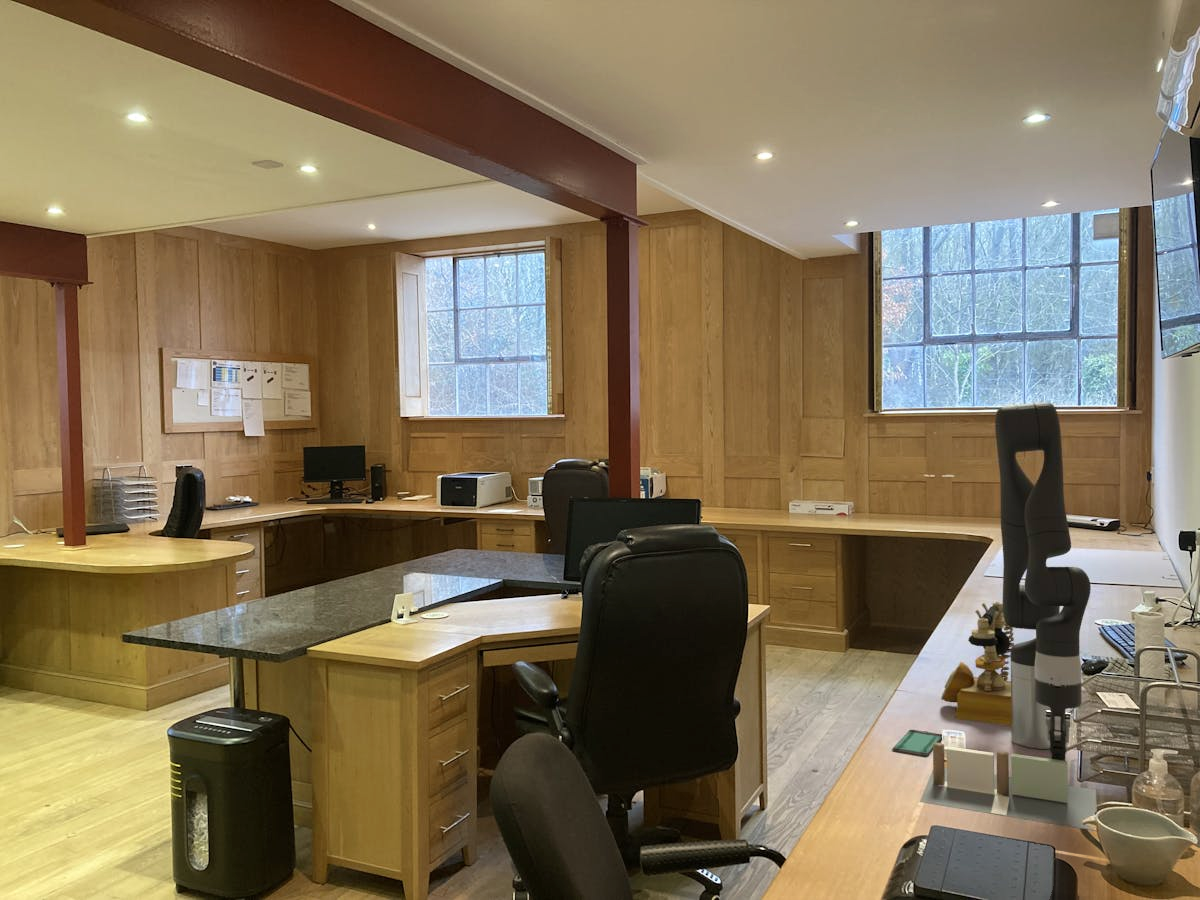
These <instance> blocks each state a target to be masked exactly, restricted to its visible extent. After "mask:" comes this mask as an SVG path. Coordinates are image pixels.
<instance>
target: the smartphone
mask: <svg viewBox="0 0 1200 900" xmlns="http://www.w3.org/2000/svg"><path fill="white" fill-rule="evenodd" d="M942 735H943V734H942V733H936V732H929V731H925V730H923V731H922V730H916V729H909V730H908V731H907V732H906V733H905V734H904V735H903V737H902V738H901V739H900V740H899V741H898V742H897V743H896V744H895V745H894V746H893V747H892V752H895V753H900V754H906V755H911V756H916V757H923V758H928V757H929V756H930V755H931V753H933V743H941V742H942V741H943V740H942ZM941 740H942V741H941Z"/></svg>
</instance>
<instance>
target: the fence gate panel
mask: <svg viewBox="0 0 1200 900" xmlns="http://www.w3.org/2000/svg"><path fill="white" fill-rule="evenodd" d="M1010 758H1011V760H1010V761H1011V763H1010V764H1011V765H1010V766H1011V770H1010V771H1011V773H1010V774H1011V776H1010V777H1011V778H1012V794H1013V795H1020V796H1026V797H1033V798H1039V799H1046V800H1052V801H1059V802H1065V803H1068V786H1069V785H1068V784H1069V783H1068V781H1069V780H1068V774H1069V773H1068V772H1069V771H1068V760H1065V761H1062V760H1055V759H1052V758H1046V757H1039V756H1032V755H1025V754H1024V755H1023V754H1016V753H1011V757H1010Z"/></svg>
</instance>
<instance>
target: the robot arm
mask: <svg viewBox="0 0 1200 900" xmlns="http://www.w3.org/2000/svg"><path fill="white" fill-rule="evenodd" d="M1060 423H1061V422H1060V418H1059V415H1058V411H1057V409H1056V406H1054V404H1052V403H1051V402H1049V401H1041V402H1033V403H1031V402H1030V403H1019V404H1018V403H1017V404H1011V405H1004V406H1003V405H1002V406H1001V407H999V408H998V409H997V411H996V413H995V421H994V427H995V429H994V430H995V441H996V448H997V449H996V450H997V457H998V468H999V482H1000V485H999V486H1000V531H1001V532H1000V533H1001V542H1002V556H1003V560H1002V561H1003V575H1002V577H1003V579H1002V581H1003V582H1002V604H1003V616H1004V620H1005V622H1006V624H1007V625H1008V626H1010V627H1013V629H1019V630H1020V629H1021V630H1024V629H1025V630H1032V631H1035V638H1033V639H1030V640H1027V641H1023V642H1018V643H1016V644H1015V643H1014V646H1012V647H1010V649H1011V652H1010V655H1011V657H1010V681H1011V726H1010V729H1011V730H1010V732H1011V733H1010V734H1011V735H1010V737H1011V738H1010V739H1011V741H1012V742H1013V743H1015V744H1017V745H1020V746H1023V747H1027V748H1031V749H1038V750H1039V749H1040V750H1041V749H1042V750H1043V749H1044V750H1047V749H1049V751H1050V753H1051V759H1055V760H1062V761H1066V755H1067V753H1068V752H1067V750H1068V747H1067V744H1068V743H1069V741H1070V740H1069V739H1070V727H1071V713H1070V712H1066V710H1067V709H1069V710H1071V709H1077V708H1079V707H1081V705H1082V700H1083V699H1082V662H1081V656H1080V632H1081V628H1082V627H1081V626H1082V623H1083V620H1084V615H1085V612H1086V608H1087V606H1088V603H1089V599H1090V595H1091V590H1092V589H1091V581H1090V578H1089V576H1088V574H1087V573H1086V572H1085V571H1084V569H1082V568H1080V567H1076V566H1047V560H1048V559H1050V558H1056V557H1060V556H1063V555H1066V554H1067V553H1069V552H1070V551H1071V549H1072V541H1071V540H1072V539H1071V535H1070V534H1071V533H1070V529H1069V523H1068V518H1067V511H1066V504H1065V495H1064V494H1065V493H1064V492H1065V491H1064V467H1063V465H1064V464H1063V450H1062V449H1063V447H1062V446H1063V445H1062V434H1061V433H1062V432H1061V425H1060ZM1033 451H1035V452H1037V451H1043V463H1042V469H1041V470H1040V471H1041V472H1040V473H1039V475H1038V479H1037V480H1036V482H1035V484H1034V482H1033V481H1031V479H1030V478H1029V477H1028V476H1027V475H1026V473H1025V472H1024V471H1023V469H1022V467H1021V465H1020V464H1019V462H1018V460H1017V453H1019V452H1020V453H1023V452H1024V453H1026V452H1033ZM1024 574H1025V578H1024V584H1021V581H1022V578H1023V576H1024ZM1061 607H1062V608H1061ZM1060 608H1061V609H1060Z"/></svg>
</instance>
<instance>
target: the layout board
mask: <svg viewBox="0 0 1200 900" xmlns="http://www.w3.org/2000/svg"><path fill="white" fill-rule="evenodd" d="M919 802H920V803H924V804H925V803H926V804H931V805H937V806H943V807H949V808H955V809H962V810H967V811H973V812H980V813H985V814H991V815H998V816H1003V817H1004V816H1005V817H1009V818H1016V819H1021V820H1028V821H1033V822H1034V821H1035V822H1039V823H1047V824H1052V825H1057V826H1058V825H1059V826H1065V827H1070V828H1076V829H1082V830H1088V831H1095V830H1094V828H1093V827H1091V826H1089V825H1083V824H1082V822H1083V820H1085V819H1086V818H1088V817H1090V816H1093V815H1094V814H1095V812H1096V811H1097V812H1098V809H1097V807H1098V805H1097V789H1095V788H1089V787H1081V786H1074V785H1068V803H1065V802H1059V801H1052V800H1046V799H1039V798H1033V797H1026V796H1020V795H1013V794H1012V778H1011V776H1009V795H1007V796H1003V795H1000V794H998V793H997V774H994V793H990V792H983V791H977V790H971V789H964V788H958V787H951V786H947V766H945V784H944V785H935V784H934V783H933V770H931V773H930V776H929V778H928V780H927V783H926V785H925V788H924V790H923V793H922V794H921V798H920V799H919ZM1095 832H1096V831H1095Z"/></svg>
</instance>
